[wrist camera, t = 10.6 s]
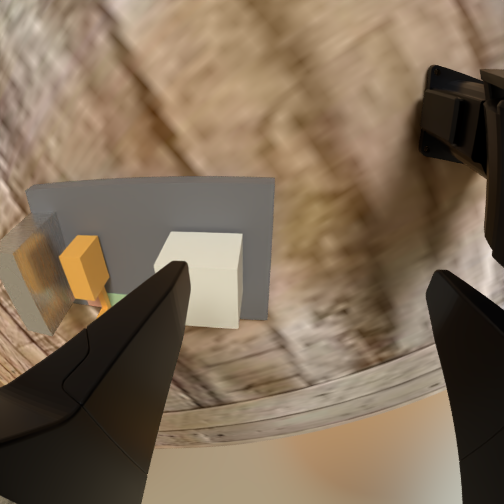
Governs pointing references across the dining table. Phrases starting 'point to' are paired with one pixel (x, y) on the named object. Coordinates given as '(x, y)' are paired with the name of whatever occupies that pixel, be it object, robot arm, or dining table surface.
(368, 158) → the dining table surface
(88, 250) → the needle rider
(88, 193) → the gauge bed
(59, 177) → the dining table surface
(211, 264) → the block
